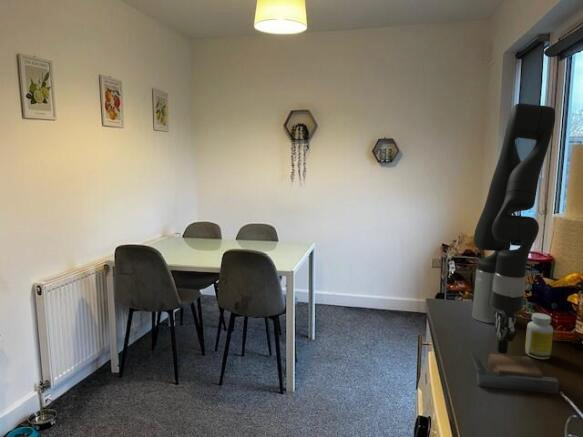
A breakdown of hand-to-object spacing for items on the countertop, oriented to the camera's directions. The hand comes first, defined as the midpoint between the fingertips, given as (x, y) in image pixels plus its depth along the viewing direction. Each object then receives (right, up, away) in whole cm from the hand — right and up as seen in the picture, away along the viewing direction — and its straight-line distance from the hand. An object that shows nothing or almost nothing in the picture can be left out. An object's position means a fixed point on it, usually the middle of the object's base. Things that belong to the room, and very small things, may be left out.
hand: (501, 352), depth 118 cm
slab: (0, -5, -6) cm, 7 cm away
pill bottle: (+13, -3, +7) cm, 15 cm away
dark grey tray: (0, -4, -3) cm, 5 cm away
